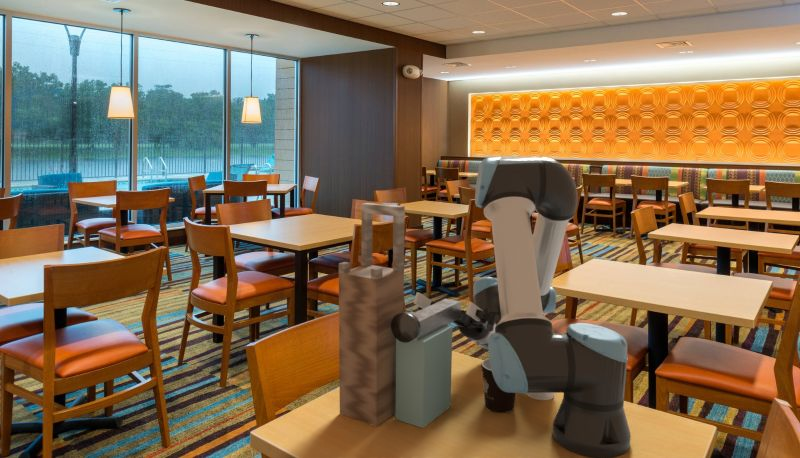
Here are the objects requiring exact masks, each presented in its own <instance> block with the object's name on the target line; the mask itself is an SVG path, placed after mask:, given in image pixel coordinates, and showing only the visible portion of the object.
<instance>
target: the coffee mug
mask: <svg viewBox="0 0 800 458" xmlns="http://www.w3.org/2000/svg"><path fill="white" fill-rule="evenodd" d="M481 371H482V383H483V394H484V395H483V396H484V406H485V408H486V410H487V409H488V410H489V411H491V412H494V413H498V414H499V413H500V414H501V413H502V414H505V413H510V412H511V411H513V410H514V407H515V401H516V397H517V393H508V392H504V391H502V390H501V389H500V388H499V387H498V385H497V383H496V382H495V379H494V377H493V374H492V370H491V366H490V361H489V358H486V359H484V360H483V361H482V362H481Z"/></svg>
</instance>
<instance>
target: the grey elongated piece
mask: <svg viewBox="0 0 800 458" xmlns="http://www.w3.org/2000/svg"><path fill="white" fill-rule="evenodd" d="M434 303H435V304H433V305H431V306H428V307H426V308H424V309H422V310H417V311H416V312H414V313H413V312H410V311H403V312H402V313H400V314H398V315H396V316H394V317H393V319H392V321H391V330H392V333H393V335H394V337H395V338H396V339H397V340H399V341H400V342H404V343H407V342H410V341H412V340H414V341H418V340H420V339H422V338H424V337H426V336H427V335H429V334H431V333H433V332H435V331H437V330H439V329H441V328H442V327H444V326H446V325H447V326H449V325H451V324H453V323H452V322H454V321H456V320H457V319H459V318H460V317H461V310H462V301H461V300H456V299H450V298H443V299H441V300H439V301H437V302H434Z"/></svg>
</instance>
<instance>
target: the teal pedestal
mask: <svg viewBox="0 0 800 458" xmlns="http://www.w3.org/2000/svg"><path fill="white" fill-rule="evenodd" d="M452 355H453V326H452V325H446V326H444V327H442V328H441V329H439V330H437V331H435V332H433V333H431V334H429V335H427V336H426V337H424V338H422V339H420V340H418V341H414V340H412V341H410V342H407V343H404V342H400V341H399V340H397V339H396V413H395V414H394V416H395V420H398V421H400V422H404V423H407V424H409V425H413V426H416V427H419V428H422V429H424V428H425V427H427V425H429V424H430V423H432V422H433V421H434V420H435V419H436V418H437V417H439V416H441V415H442V414H443V413H444V412H445V411H447V410H449V408H451V405H452V404H451V403H452V402H451V400H452V397H451V396H452V395H451V394H452V360H453V359H452V358H453V356H452Z"/></svg>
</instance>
